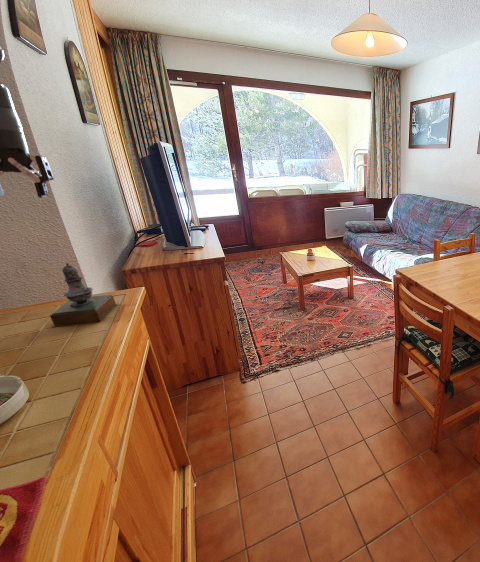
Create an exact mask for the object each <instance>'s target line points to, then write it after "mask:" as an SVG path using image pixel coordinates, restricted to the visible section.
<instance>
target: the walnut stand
mask: <svg viewBox="0 0 480 562" xmlns="http://www.w3.org/2000/svg"><path fill="white" fill-rule="evenodd" d="M90 298H92V299H95V300H96V301H95V302H94V303H92V304H90V305H88V306H84V307H78V308H72V307H71V306H70V305H71V304H72V303H73V301H70V300H69V299H68V301H67V302H66V303H64V304H63V305H61V306H60V307H59V308H57V309H56V310H55V311H53V312H52V313H51V314H50V315H49V317H50V319H51V321H52V323H53V326H54V327H65V326H72V325H79V324H90V323H99V322H101V321H102V320H103V319H104V318H105V317H107V315H108V314H109V313H110V312H111V311H112V310H113V309H114V308H115V307H116V306H117V303H116V300H115V297H114V295H113V294H104V295H103V294H101V295H92V296H91V297H90Z"/></svg>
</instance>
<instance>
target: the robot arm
mask: <svg viewBox="0 0 480 562" xmlns="http://www.w3.org/2000/svg"><path fill="white" fill-rule="evenodd" d="M4 59H5V51H4V49H3V47H2V45H1V44H0V64H1V63H2V62H3V61H4ZM24 133H25V132H24V130H23V125H22V123H21V120H20V118H19V115H18V113H17V111H16V108H15V105H14V102H13V99H12V95H11V92H10V90H9V88H8V86H7V85H6V84H5V83H3V82H2V81H0V177H2V175H3V174H4V173H20V174H21V173H23V174H24V175H25V176H28V177H29V178H30V179H31V180H33V181H34V183H33V184H34V188H35V190H36V194H37V197H38V198H40V199H42V198H47V196H48V195H49V191H48V186H47V184H46V183H47V182H48V181H49V182H50V181H54V180H55V176H54V174H53V171H52V169H51V166H50V163H49V161H48V157H47V156H46V155H31V154H30V152H29V147H28V143H27V140H26V136H25V134H24ZM33 162H34V164H35V165H37V167H38V169H39V171H38V170H37V169H36V168H34V166H33V165H32V163H33ZM39 172H40V173H39ZM1 197H5V193H4V190H3V187H2V184H1V183H0V198H1Z"/></svg>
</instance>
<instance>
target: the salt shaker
mask: <svg viewBox="0 0 480 562" xmlns="http://www.w3.org/2000/svg"><path fill="white" fill-rule="evenodd" d="M61 271H62V273H63V276H64V278H65V279H64V280H63V281H64V282H65V283H66V284H67V287H68V290H67V291H66V292H64V293H63V296H64V297H66V299H68V301H69V300H70V301H73V303H72V304H71V305H70V306H71V307H72V308H78V307H84V306H88V305H90V304H92V303H94V302H95V301H96V300H95V299H92V298H90V297H92V296H93V289H94V288H92V287H90V286H86V285H85V284H84V281H83V276H81V274H80V273H79V270H78V268H77V266H75V265H74V264H73V265H72V264H70V263H69V262H66V263H65V266H63V267H62V268H61Z"/></svg>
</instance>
